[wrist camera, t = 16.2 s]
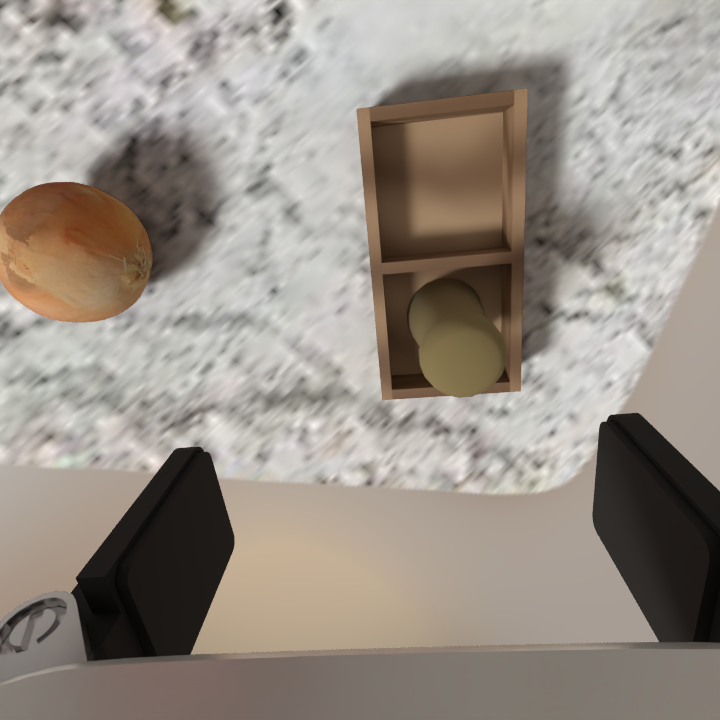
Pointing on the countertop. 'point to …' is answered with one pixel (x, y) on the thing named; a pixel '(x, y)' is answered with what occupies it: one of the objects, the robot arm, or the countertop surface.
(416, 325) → the cork
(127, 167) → the countertop surface
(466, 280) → the wooden divided tray
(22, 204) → the onion
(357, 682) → the robot arm
